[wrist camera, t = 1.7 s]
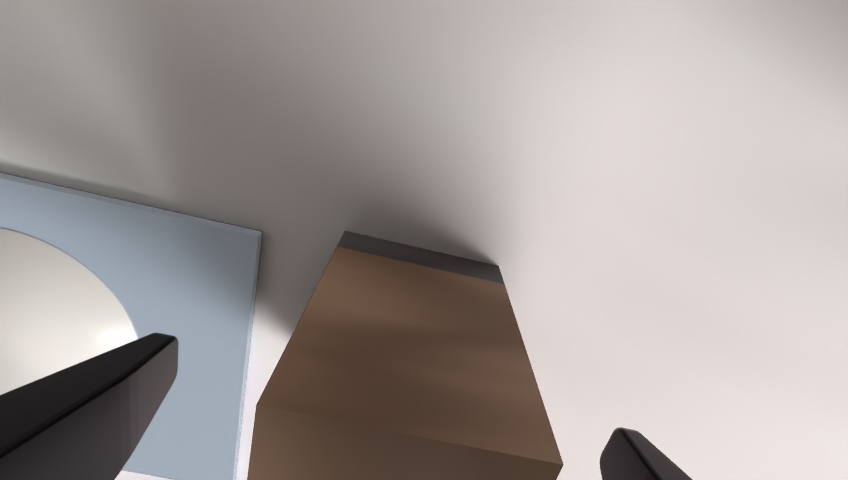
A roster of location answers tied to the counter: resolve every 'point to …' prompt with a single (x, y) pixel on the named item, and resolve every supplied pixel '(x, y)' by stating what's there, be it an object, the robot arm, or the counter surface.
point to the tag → (132, 310)
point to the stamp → (404, 376)
